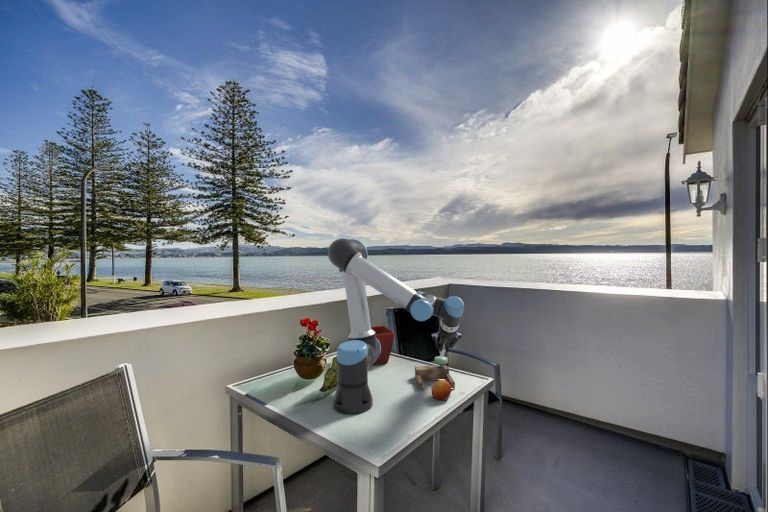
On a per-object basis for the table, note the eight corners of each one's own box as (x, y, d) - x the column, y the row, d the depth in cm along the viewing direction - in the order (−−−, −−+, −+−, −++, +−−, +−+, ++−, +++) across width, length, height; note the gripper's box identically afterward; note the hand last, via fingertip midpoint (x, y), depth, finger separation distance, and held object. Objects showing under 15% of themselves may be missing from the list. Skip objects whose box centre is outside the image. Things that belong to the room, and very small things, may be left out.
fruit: (454, 400, 126) (443, 381, 128) (437, 408, 128) (426, 389, 130) (457, 391, 134) (446, 373, 135) (440, 399, 136) (430, 382, 137)
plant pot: (352, 358, 185) (351, 328, 185) (384, 354, 191) (384, 325, 191) (360, 369, 167) (359, 335, 167) (395, 364, 173) (395, 332, 173)
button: (436, 375, 150) (435, 360, 150) (433, 370, 156) (433, 356, 156) (449, 374, 150) (448, 359, 150) (446, 370, 156) (446, 355, 156)
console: (416, 380, 150) (416, 369, 150) (414, 376, 155) (414, 366, 155) (449, 379, 151) (448, 368, 151) (446, 375, 156) (446, 365, 156)
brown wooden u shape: (419, 390, 139) (419, 383, 139) (416, 380, 150) (416, 374, 150) (454, 389, 140) (454, 382, 140) (449, 379, 151) (448, 373, 151)
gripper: (434, 334, 133) (428, 362, 150) (466, 332, 134) (457, 361, 150) (432, 318, 138) (426, 347, 155) (462, 317, 139) (454, 346, 155)
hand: (441, 354), depth 153 cm, fingers closed
